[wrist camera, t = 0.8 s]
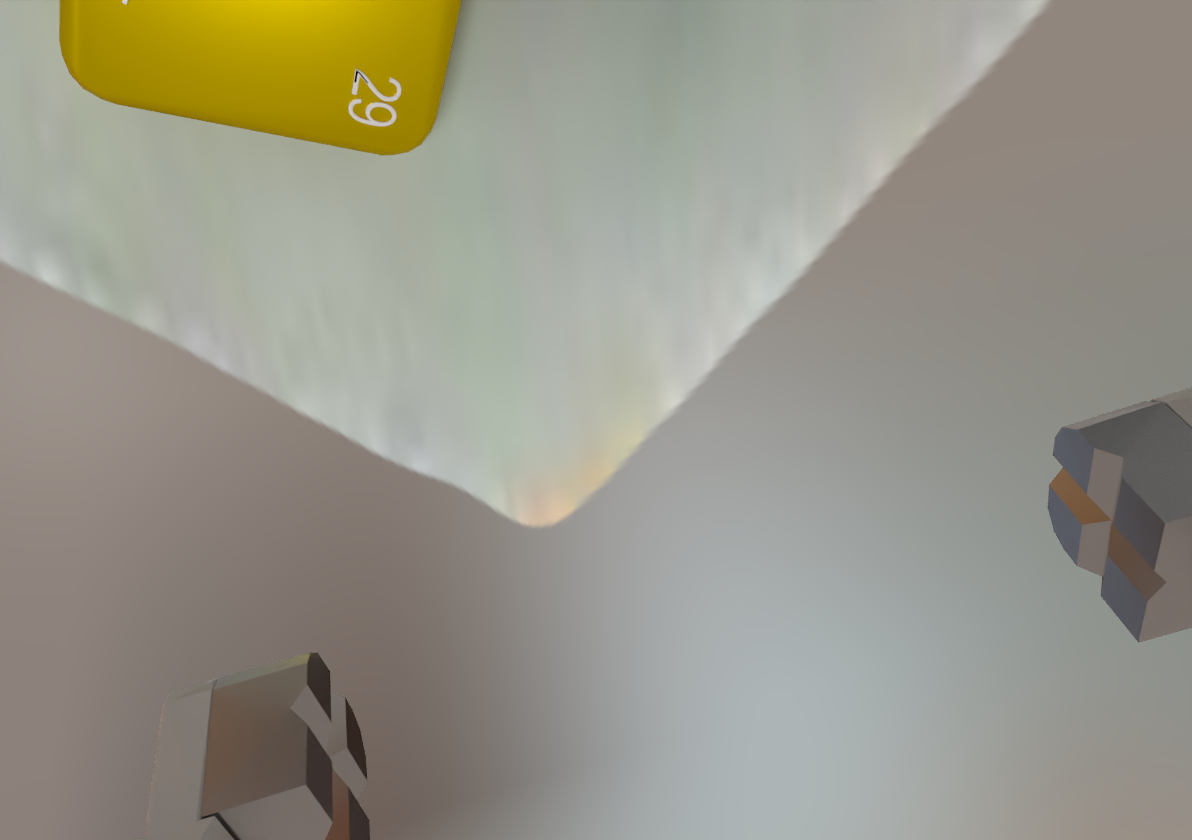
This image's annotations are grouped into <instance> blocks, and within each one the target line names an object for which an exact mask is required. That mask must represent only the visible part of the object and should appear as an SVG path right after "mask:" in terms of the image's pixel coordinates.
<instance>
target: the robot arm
mask: <svg viewBox="0 0 1192 840" xmlns="http://www.w3.org/2000/svg"><path fill="white" fill-rule="evenodd" d="M1053 456H1054V457H1055V458H1056V459H1057V460H1058V462H1059V463H1060V464H1061V465H1062V466H1063V468H1062V469H1061V471H1060V472H1059V473H1058V474H1057V476H1056V477H1055V478H1054V479H1053V481H1052V482H1051V483H1050V484H1049V496H1048V510H1049V514H1050V518H1051V521H1052V525H1053V529H1054V532H1055V534H1056V536H1057V537H1058V539H1059V541H1060V543H1061V544H1062V547H1063V549H1064V550H1065V551H1066V552H1067V554H1068V555H1069V556H1070V557H1071V559H1072V560H1073V561H1074V563H1075V564H1076V565H1077V566H1079V567H1081V568H1084V569H1086V570H1088V571H1091V572H1093V573H1095V574H1098V575H1100V576H1102V586H1101V597H1102V598H1103V599H1104V600H1105V601H1106V603H1107V604H1108V605H1109V606H1110V608H1111V609H1112V610H1113V612H1114V613H1115V614H1116V615H1117V617H1118V618H1119V619H1120V620H1121V621H1122V623H1123V624H1124V625H1125V626H1126V628H1127V629H1128V630H1129V631H1130V633H1131V634H1132V635H1133V636H1134V637H1135V639H1136V640H1137V641H1138V642H1142V641H1146V640H1149V639H1153V638H1156V637H1160V636H1163V635H1167V634H1171V633H1174V632H1178V631H1181V630H1185V629H1188V628H1192V387H1191V388H1188V389H1185V390H1181V391H1178V392H1175V393H1171V394H1168V395H1165V396H1162V397H1158V398H1155V399H1152V400H1150V401H1144V402H1141V403H1137V404H1134V405H1131V406H1128V407H1125V408H1122V409H1118V410H1115V411H1112V412H1109V413H1106V414H1102V415H1099V416H1096V417H1092V418H1090V419H1086V420H1083V421H1080V422H1076V423H1074V424H1070V425H1067V426H1064V427H1062V428H1061V429H1060V431H1059V432H1058V434H1057V435H1056V437H1055V442H1054V450H1053ZM330 687H331V685H330V670H329V669H328V667H327V666H326V664H325V663H324V662H323V660H322V658H321V657H320V655H319V654H318V653H307V654H304V655H300V656H296V657H292V658H289V659H285V660H282V661H278V662H274V663H270V664H267V665H263V666H260V667H256V668H252V669H249V670H245V671H241V672H237V673H234V674H230V675H227V676H223V677H219V678H218V679H214V680H211V681H207V682H204V683H200V684H196V685H193V686H190V687H185V688H182V689H178V690H175V691H171V692H170V694H169V696H168V698H167V700H166V701H165V703H164V705H163V707H162V715H161V721H160V728H159V735H158V742H157V750H156V758H155V764H154V771H153V779H152V785H151V793H150V800H149V807H148V815H147V822H146V829H145V836H144V837H142V838H139V839H136V840H370V824H369V819H368V817H367V815H366V814H365V812H364V811H363V809H362V808H361V806H360V804H359V803H358V801H357V799H358V797H359V795H360V794H361V792H362V790H363V789H364V787H365V785H366V783H367V766H366V755H365V750H364V746H363V741H362V736H361V731H360V728H359V725H358V722H357V720H356V717H355V715H354V712H353V710H352V708H351V706H350V705H349V703H348V701H347V699H346V698H345V697H344V696H342V695H339V694H336V693H334V692H331V689H330Z"/></svg>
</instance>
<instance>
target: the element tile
mask: <svg viewBox="0 0 1192 840" xmlns="http://www.w3.org/2000/svg"><path fill="white" fill-rule="evenodd" d="M461 1H462V0H60V27H59V40H60V46H61V52H62V56H63V58H64V61H65V63H66V65H67V68H68V70H69V72H70V74H71V76H72V77H73V78H74V79H75V80H76V81H77V82H78V83H79V84H80V85H81V86H82V88H83V89H85V90H87V91H89V92H90V93H92V94H94V95H96V96H97V97H99V98H101V99H103V100H106V101H109V102H112V103H115V104H119V105H124V106H129V107H134V108H139V109H145V110H150V111H155V112H160V113H165V114H171V115H176V116H181V117H186V118H191V119H197V120H202V121H207V122H212V123H217V124H223V125H228V126H233V127H238V128H243V129H249V130H254V131H259V132H264V133H270V134H275V135H280V136H285V137H290V138H296V139H301V140H306V141H311V142H316V143H322V144H327V145H332V146H337V147H342V148H348V149H353V150H358V151H363V152H368V153H374V154H379V155H395V154H400V153H405V152H409V151H411V150H413V149H414V148H416V147H417V146H419V145H421V144H422V143H423V141H424V140H425V138H426V137H427V136H428V134H429V133H430V132H431V130H432V128H433V125H434V123H435V120H436V118H437V113H438V108H439V104H440V99H441V94H442V90H443V85H444V80H445V76H446V71H447V66H448V62H449V57H450V52H451V48H452V43H453V38H454V34H455V29H456V24H457V20H458V15H459V10H460V6H461Z"/></svg>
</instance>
